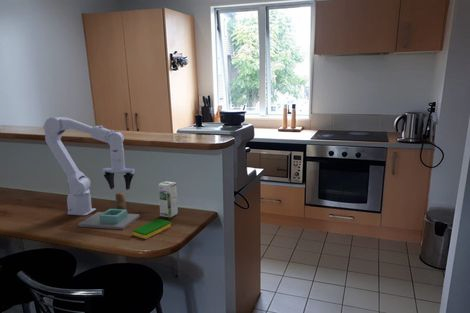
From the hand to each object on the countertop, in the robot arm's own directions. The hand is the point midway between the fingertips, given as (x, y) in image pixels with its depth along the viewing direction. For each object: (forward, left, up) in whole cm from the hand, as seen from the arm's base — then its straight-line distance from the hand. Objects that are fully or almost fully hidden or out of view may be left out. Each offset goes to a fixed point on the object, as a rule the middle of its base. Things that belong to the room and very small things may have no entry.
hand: (120, 188), depth 155 cm
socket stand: (+2, -13, -10) cm, 16 cm away
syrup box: (+24, -2, -11) cm, 26 cm away
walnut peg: (0, 0, -10) cm, 10 cm away
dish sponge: (+24, -19, -11) cm, 32 cm away
